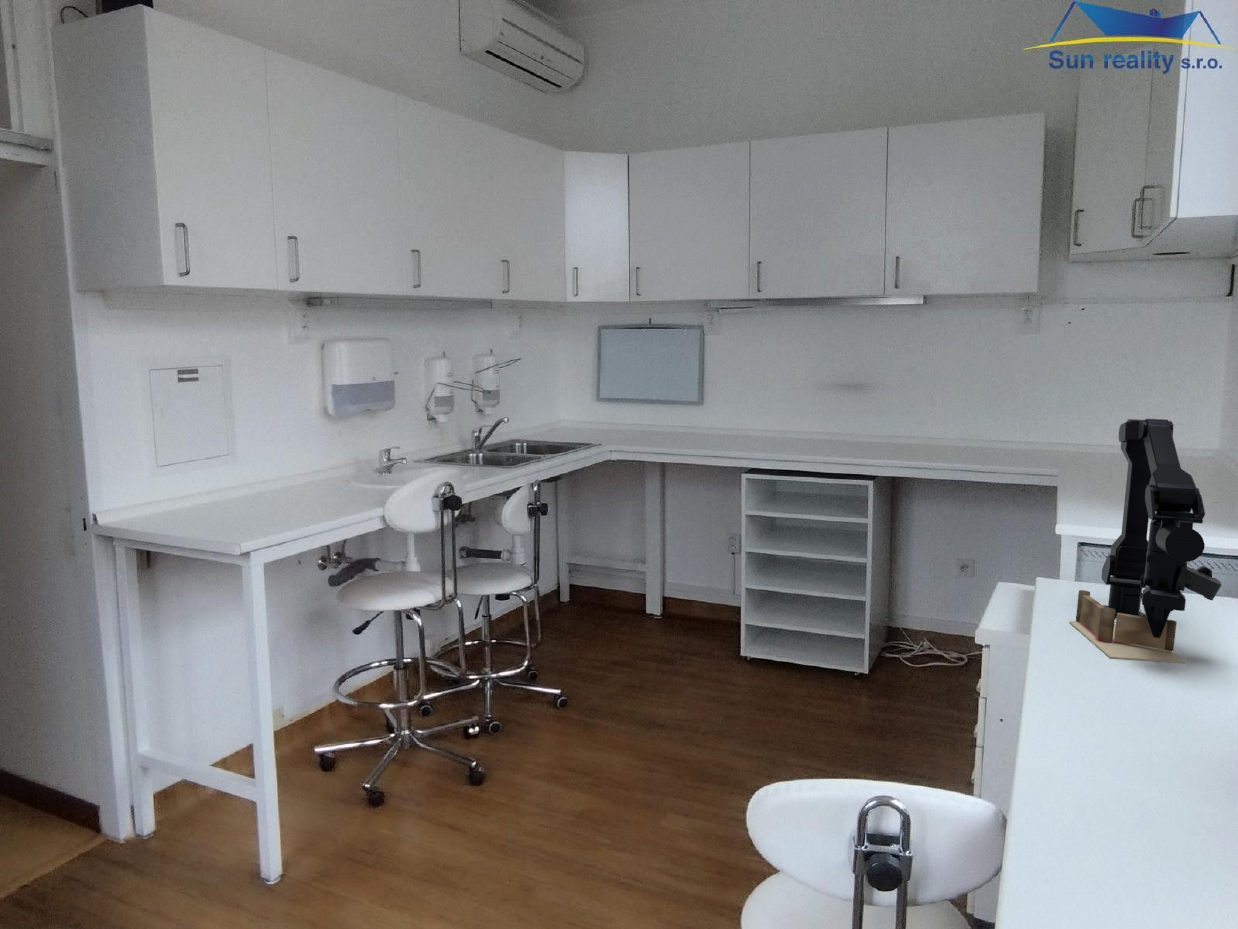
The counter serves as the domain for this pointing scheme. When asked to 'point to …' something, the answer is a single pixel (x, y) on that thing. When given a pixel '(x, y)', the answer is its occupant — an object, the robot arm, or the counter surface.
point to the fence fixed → (1095, 617)
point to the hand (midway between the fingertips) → (1156, 637)
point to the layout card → (1128, 648)
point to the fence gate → (1143, 632)
